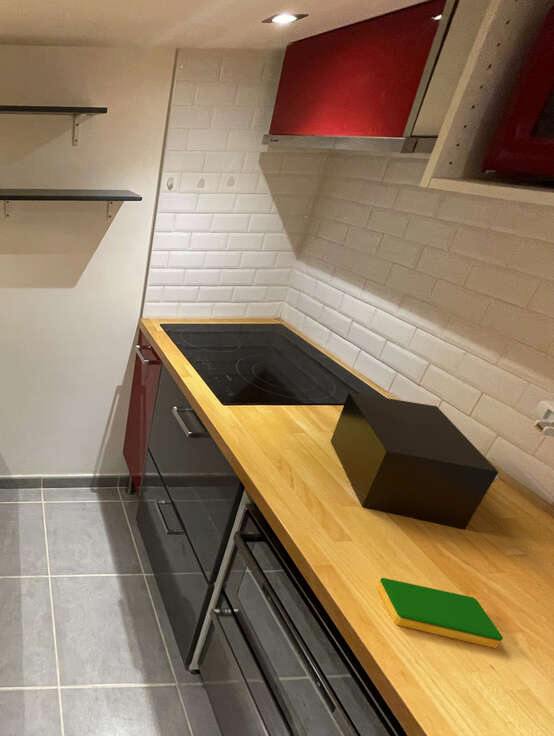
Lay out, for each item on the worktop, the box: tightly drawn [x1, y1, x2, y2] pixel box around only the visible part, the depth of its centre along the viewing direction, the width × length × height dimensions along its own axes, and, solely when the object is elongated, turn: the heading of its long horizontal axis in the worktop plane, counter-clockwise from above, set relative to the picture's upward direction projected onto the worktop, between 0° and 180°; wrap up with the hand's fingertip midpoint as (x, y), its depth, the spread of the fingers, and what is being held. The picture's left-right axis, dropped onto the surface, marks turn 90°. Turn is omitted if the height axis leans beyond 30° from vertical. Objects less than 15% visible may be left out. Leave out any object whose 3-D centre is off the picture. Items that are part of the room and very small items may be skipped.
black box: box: [330, 391, 499, 531], centre depth 100 cm, size 20×24×15 cm
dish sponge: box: [376, 577, 504, 649], centre depth 73 cm, size 7×14×2 cm, turn 75°
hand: (539, 426), depth 89 cm, fingers closed
